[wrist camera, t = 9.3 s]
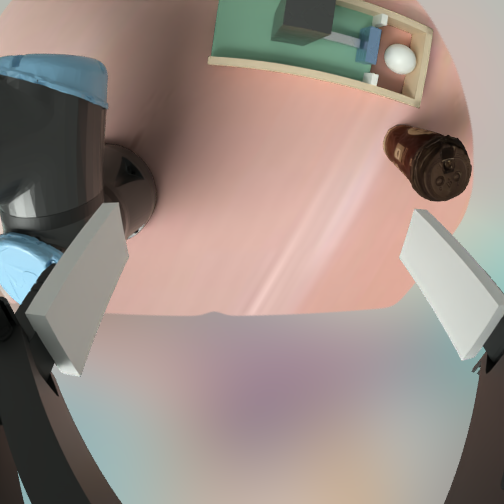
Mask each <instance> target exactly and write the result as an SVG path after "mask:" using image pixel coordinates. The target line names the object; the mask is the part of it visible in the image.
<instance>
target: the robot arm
mask: <svg viewBox="0 0 504 504" xmlns="http://www.w3.org/2000/svg"><path fill="white" fill-rule="evenodd" d="M107 82H108V72H107V69H106V67H105V66H104V64H103V63H101V62H100V61H98V60H96V59H93V58H88V57H83V56H75V55H64V54H26V55H17V56H4V57H0V216H1V221H2V226H3V234H0V284H1V286H2V287H3V288H4V290H5V291H6V292H7V293H8V294H9V295H10V296H11V297H12V298H13V299H14V300H15V301H16V302H18V303H19V304H20V306H19V308H18V310H17V311H16V313H15V314H14V312H13V310H12V308H11V306H10V304H9V303H8V301H7V299H6V298H4V297H0V504H24V501H23V496H22V492H21V487H20V482H19V477H18V473H19V476H20V478H21V481H22V483H23V486H24V488H25V490H26V492H27V495H28V497H29V499H30V501H31V503H32V504H122V503H121V501H120V500H119V499H118V497H117V496H116V494H115V493H114V491H113V490H112V488H111V487H110V485H109V484H108V482H107V480H106V479H105V477H104V476H103V474H102V472H101V471H100V469H99V467H98V466H97V464H96V462H95V461H94V459H93V457H92V455H91V454H90V452H89V450H88V448H87V446H86V444H85V443H84V441H83V439H82V437H81V435H80V433H79V431H78V429H77V427H76V425H75V423H74V421H73V419H72V416H71V414H70V412H69V410H68V408H67V405H66V403H65V401H64V399H63V396H62V394H61V392H60V389H59V386H58V384H57V382H56V379H55V377H54V375H53V374H52V372H51V370H52V367H53V365H54V363H55V364H56V366H57V367H58V368H59V370H60V371H61V373H64V374H68V375H74V376H80V377H81V374H82V371H83V369H84V366H85V363H86V360H87V357H88V354H89V351H90V349H91V346H92V343H93V341H94V338H95V335H96V333H97V330H98V328H99V325H100V322H101V320H102V317H103V314H104V312H105V310H106V308H107V305H108V303H109V300H110V298H111V296H112V293H113V291H114V289H115V286H116V284H117V282H118V280H119V277H120V275H121V273H122V271H123V268H124V266H125V264H126V262H127V260H128V258H129V254H128V250H127V245H126V240H127V239H130V238H131V237H133V236H135V235H136V234H138V233H139V232H140V231H141V230H142V229H143V228H144V226H145V225H146V224H147V222H148V220H149V219H150V217H151V215H152V213H153V211H154V208H155V203H156V187H155V183H154V179H153V176H152V174H151V172H150V170H149V169H148V167H147V166H146V164H145V163H144V162H143V160H142V159H141V158H140V157H139V156H137V155H136V154H135V153H133V152H132V151H130V150H129V149H127V148H124V147H122V146H119V145H114V144H104V143H105V124H106V110H107V109H108V103H107ZM399 258H400V260H401V261H402V263H403V264H404V266H405V267H406V268H407V270H408V271H409V273H410V274H411V276H412V277H413V279H414V280H415V282H416V283H417V285H418V287H419V288H420V290H421V291H422V293H423V294H424V296H425V298H426V299H427V300H428V302H429V304H430V306H431V307H432V309H433V310H434V312H435V314H436V315H437V317H438V319H439V320H440V322H441V324H442V325H443V327H444V329H445V331H446V332H447V334H448V336H449V338H450V340H451V341H452V343H453V345H454V347H455V349H456V351H457V352H458V354H459V356H460V358H461V360H466V359H470V358H473V357H475V356H476V355H477V353H478V352H479V351H480V349H481V348H482V347H484V348H485V350H486V352H485V354H484V355H483V356H482V358H481V359H480V360H479V361H478V363H477V364H476V365H475V366H474V368H473V370H472V372H475V371H476V369H477V368H478V367H481V368H480V370H479V372H478V373H477V374H478V375H479V382H478V388H477V394H476V399H475V404H474V409H473V414H472V418H471V423H470V426H469V431H468V434H467V438H466V442H465V445H464V449H463V452H462V456H461V459H460V462H459V465H458V468H457V471H456V474H455V477H454V480H453V482H452V485H451V488H450V490H449V493H448V495H447V498H446V500H445V503H444V504H504V294H503V292H502V291H501V290H500V288H499V287H498V286H497V285H496V283H495V282H494V281H493V280H492V279H491V277H490V276H489V275H488V274H487V273H486V271H485V270H484V269H483V268H482V267H481V266H480V265H479V264H478V263H477V262H476V261H475V259H474V258H473V257H472V256H471V255H470V254H469V253H468V252H467V250H466V249H465V248H464V247H463V246H462V245H461V244H460V243H459V242H458V241H457V240H456V239H455V238H454V237H453V236H452V234H451V233H450V232H449V231H448V230H447V229H446V228H445V227H444V226H443V225H442V224H441V223H440V222H439V221H438V220H437V219H436V218H435V217H434V216H433V215H432V214H430V213H429V212H428V211H427V210H422V209H414V212H413V215H412V219H411V222H410V225H409V229H408V232H407V235H406V238H405V241H404V245H403V248H402V251H401V254H400V256H399Z"/></svg>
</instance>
